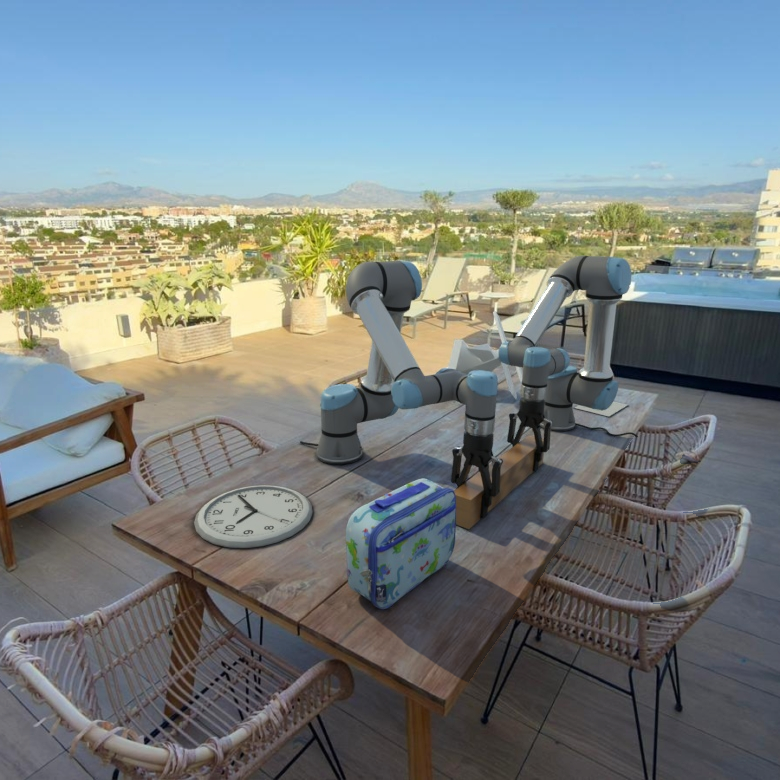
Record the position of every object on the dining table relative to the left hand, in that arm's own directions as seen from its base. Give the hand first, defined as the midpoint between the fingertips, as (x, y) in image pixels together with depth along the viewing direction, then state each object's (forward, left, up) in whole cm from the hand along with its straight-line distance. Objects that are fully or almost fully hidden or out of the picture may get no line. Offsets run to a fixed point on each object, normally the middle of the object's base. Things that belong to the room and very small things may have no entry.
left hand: (472, 512), depth 140 cm
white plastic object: (-59, +93, -1) cm, 110 cm away
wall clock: (-41, -41, -1) cm, 58 cm away
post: (-2, +18, -1) cm, 18 cm away
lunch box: (+5, -34, -1) cm, 34 cm away
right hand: (-4, +35, 0) cm, 35 cm away
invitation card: (-10, +113, -1) cm, 114 cm away
